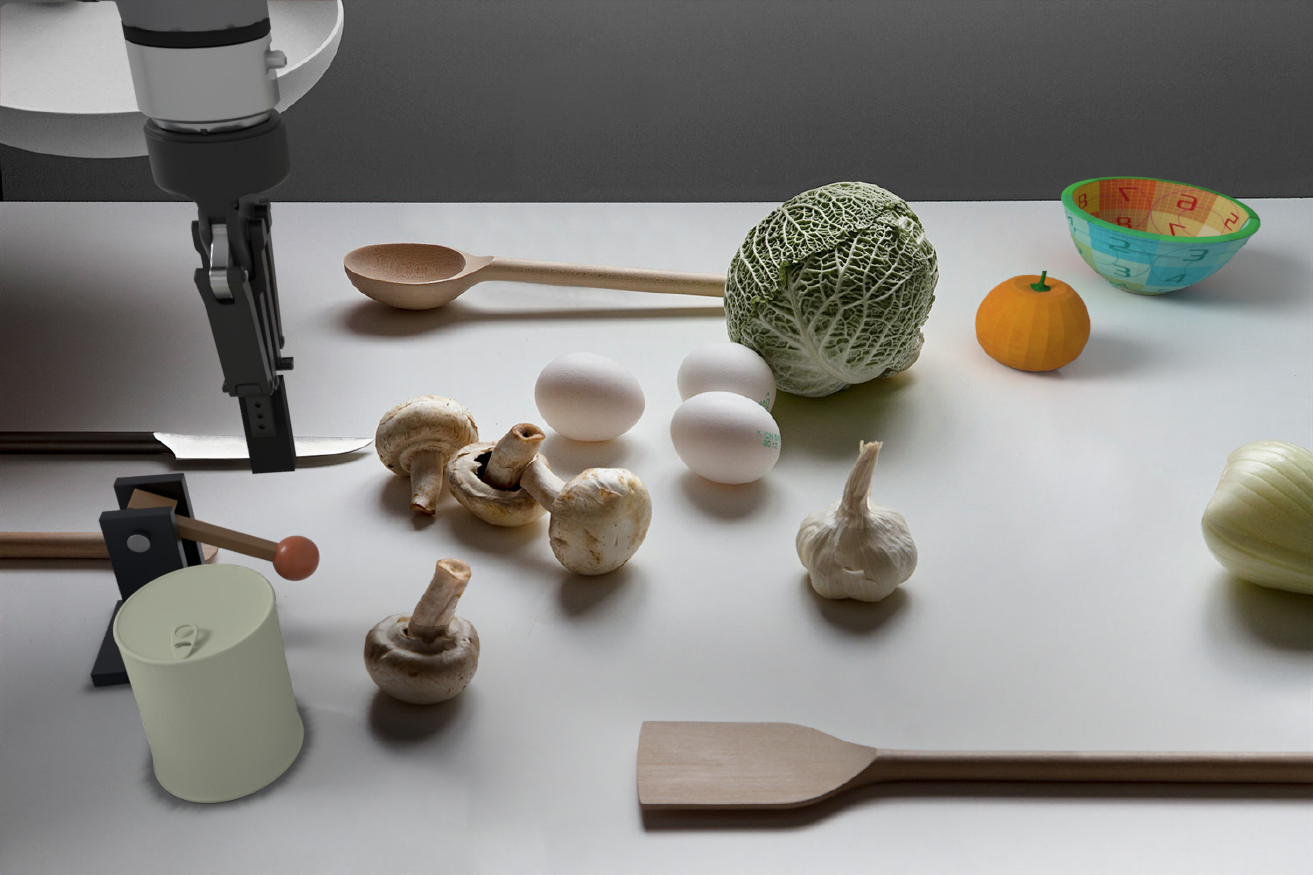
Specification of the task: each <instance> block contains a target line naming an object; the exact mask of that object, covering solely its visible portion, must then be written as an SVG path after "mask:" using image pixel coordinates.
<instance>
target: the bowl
mask: <svg viewBox="0 0 1313 875" xmlns="http://www.w3.org/2000/svg"><path fill="white" fill-rule="evenodd" d="M1060 196H1061V197H1060V198H1061V199H1060V200H1061V204H1062V206H1063V208H1064V216H1065V219H1066V221H1067V223H1068V228H1069V232H1070V237H1071V239H1072V241H1073V244H1074V246H1075V248H1076V250H1077V252H1078V253H1079V254H1080V257H1081V258H1082V259H1083V261H1084V262H1085V263H1086V264H1087V266H1089V267H1090V268H1091V269H1092V270H1093V271H1094V272H1095V273H1096V274H1098V275H1099V276H1101V277H1102V278H1103V279H1105V280H1106V281H1108V282H1109V283H1110V285H1112V286H1114V287H1115V288H1117V289H1120V290H1122V291H1125V292H1128V293H1133V294H1138V295H1145V296H1146V295H1147V296H1156V295H1163V294H1166V293H1168V292H1173V291H1178V290H1182V289H1185V288H1188V287H1191V286H1194V285H1196V284H1198V283H1200V282H1203V281H1204V280H1206V279H1208V278H1209V277H1212V276H1213V275H1214V274H1216V273H1217V272H1218V271H1220V270H1221V269H1222V268H1223V267H1224V266H1226V265H1227V264H1228V263H1229V262H1230V261H1231V260H1232V259H1233V258H1234V256H1235V255H1236V254H1237V253H1238V252H1239V250H1240V249H1242V248H1243V247H1244V246H1246V244H1247V242H1248V241H1249V240H1250V239H1251V237H1253V235H1255V234H1256V233H1257V232H1258V231H1259V229H1260V228H1261V218H1260V216H1259V214H1258V213H1257V212H1256V211H1254V209H1253V208H1252V207H1250V206H1248V205H1247V204H1245V203H1243V202H1242V201H1240V200H1238V199H1236V198H1235V197H1231V196H1229V195H1227V194H1224V193H1222V192H1219V191H1216V190H1213V189H1210V188H1206V187H1203V186H1200V185H1195V184H1191V183H1186V182H1181V181H1175V180H1170V179H1164V178H1163V179H1161V178H1154V177H1145V176H1103V177H1096V178H1088V179H1085V180H1080V181H1078V182H1074V183H1072V184H1070V185H1069V186H1067V187H1066V188H1065V189H1064V190H1063V191H1062V193H1061V195H1060Z"/></svg>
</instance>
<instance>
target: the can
mask: <svg viewBox="0 0 1313 875" xmlns="http://www.w3.org/2000/svg"><path fill="white" fill-rule="evenodd" d="M113 634H114V638H115V641H116V643H117V645H118V647H119V650H120V653H121V655H122V658H123V661H124V664H125V667H126V670H127V673H128V676H129V680H130V683H131V684H130V686H131V689H132V692H133V695H134V698H135V702H136V704H137V707H138V711H139V714H140V718H141V721H142V725H143V727H144V731H145V734H146V738H147V741H148V744H149V748H150V751H151V755H152V761H153V762H152V765H153V766H152V767H153V771H154V774H155V775H154V776H155V777H156V779H157V781H158V783H159V784H160V785H161V787H162V788H163V789H164V790H165V791H167V792H168V793H169V794H171V795H173V796H174V797H177V798H178V799H182V800H185V801H188V802H191V803H199V804H200V803H201V804H215V803H217V804H218V803H223V802H229V801H234V800H237V799H240V798H244V797H246V796H249V795H251V794H254V793H256V792H258V791H260V790H262V789H264V788H266V787H267V786H269V785H270V784H272V783H273V782H275V781H276V780H277V779H278V778H280V777H281V776H282V775H283V774H284V773H285V772H286V771H287V770H288V769H289V768H290V767H291V765H293V763H294V762H295V761H296V759H297V757H298V756H299V753H300V751H301V749H302V746H303V742H304V737H305V736H304V735H305V728H304V727H305V726H304V723H303V720H302V717H301V715H300V713H299V711H298V706H297V702H296V699H295V694H294V689H293V685H292V679H291V675H290V670H289V664H288V661H287V660H288V659H287V655H286V650H285V646H284V641H283V636H282V630H281V625H280V618H279V613H278V609H277V596H276V592H275V589H274V586H273V584H271V582H270V581H269V580H268V579H267V577H266V576H264V575H263V574H261V573H260V572H258V571H257V570H254V569H252V568H249V567H246V566H243V565H238V564H232V563H206V564H205V565H197V566H192V567H187V568H184V569H180V570H177V571H174V572H171V573H168V574H166V575H163V576H161V577H159V578H157V579H155V580H153V581H151V582H149V583H148V584H146V585H145V586H143V587H142V588H140V589H139V590H138V591H136V592H135V593H134V594H133V595H132V596H130V597H129V598H128V599H127V601H126V602H125V603H124V604H123V605H122V607H121V608H120V610H119V611H118V613H117V615H116V618H115V621H114V626H113Z"/></svg>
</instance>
